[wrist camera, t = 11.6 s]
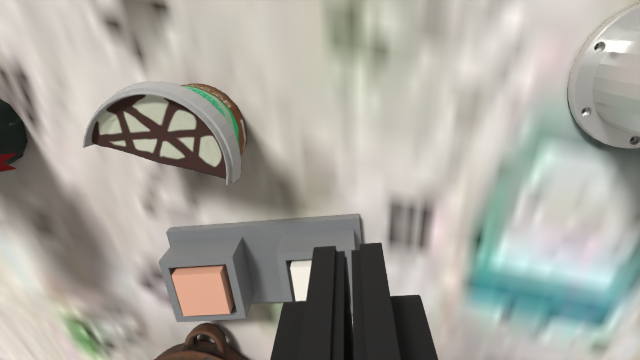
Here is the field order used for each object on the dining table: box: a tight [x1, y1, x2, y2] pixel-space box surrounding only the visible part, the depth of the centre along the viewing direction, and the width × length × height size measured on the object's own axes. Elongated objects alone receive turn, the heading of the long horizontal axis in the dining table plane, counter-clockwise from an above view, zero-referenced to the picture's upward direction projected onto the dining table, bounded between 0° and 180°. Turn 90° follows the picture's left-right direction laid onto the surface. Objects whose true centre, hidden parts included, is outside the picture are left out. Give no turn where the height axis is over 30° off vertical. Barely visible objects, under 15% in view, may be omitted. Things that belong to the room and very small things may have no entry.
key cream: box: [290, 259, 312, 301], centre depth 40 cm, size 5×5×3 cm
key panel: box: [159, 214, 362, 322], centre depth 42 cm, size 21×10×5 cm, turn 96°
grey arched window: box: [83, 81, 247, 186], centre depth 33 cm, size 12×6×10 cm, turn 75°
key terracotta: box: [172, 264, 235, 316], centre depth 41 cm, size 5×5×3 cm
